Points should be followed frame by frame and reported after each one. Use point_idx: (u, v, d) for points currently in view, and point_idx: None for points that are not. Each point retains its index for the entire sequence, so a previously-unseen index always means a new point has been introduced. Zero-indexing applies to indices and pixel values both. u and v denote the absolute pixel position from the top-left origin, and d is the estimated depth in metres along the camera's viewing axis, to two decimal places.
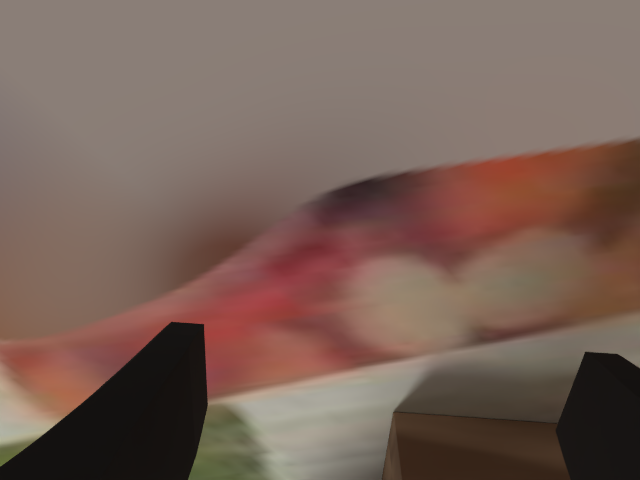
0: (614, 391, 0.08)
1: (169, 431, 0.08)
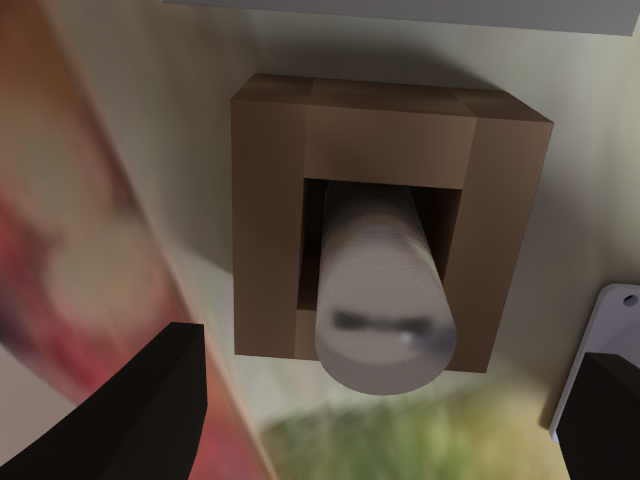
0: (614, 391, 0.08)
1: (169, 431, 0.08)
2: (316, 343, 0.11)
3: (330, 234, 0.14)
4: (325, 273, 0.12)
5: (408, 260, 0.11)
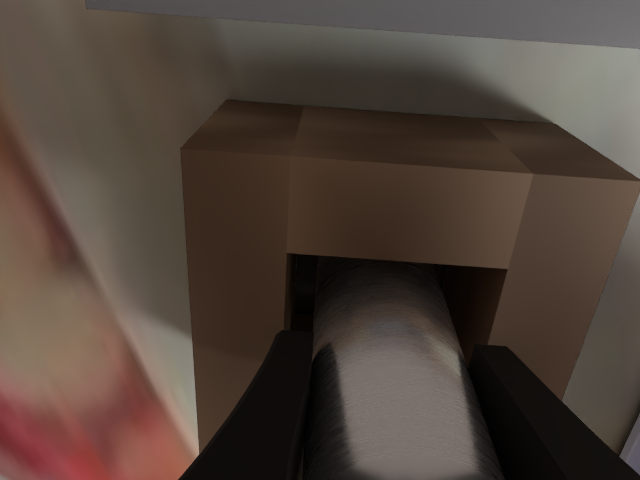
0: (491, 382, 0.08)
1: (301, 441, 0.08)
2: None
3: (324, 331, 0.10)
4: (315, 406, 0.08)
5: (440, 400, 0.07)
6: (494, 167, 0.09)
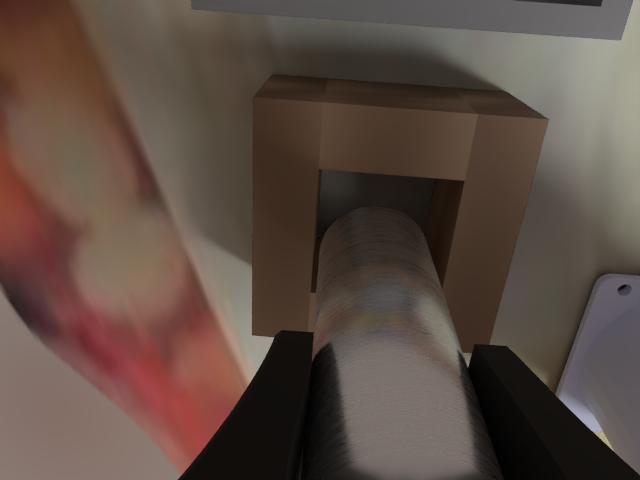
0: (491, 382, 0.08)
1: (301, 440, 0.08)
2: None
3: (324, 330, 0.10)
4: (315, 405, 0.08)
5: (439, 400, 0.07)
6: (453, 110, 0.14)
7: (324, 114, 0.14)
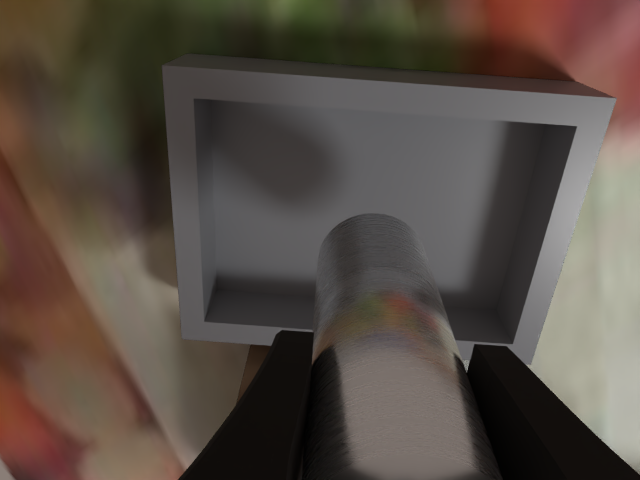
0: (491, 382, 0.08)
1: (300, 441, 0.08)
2: None
3: (323, 334, 0.10)
4: (315, 407, 0.08)
5: (439, 401, 0.07)
6: None
7: None
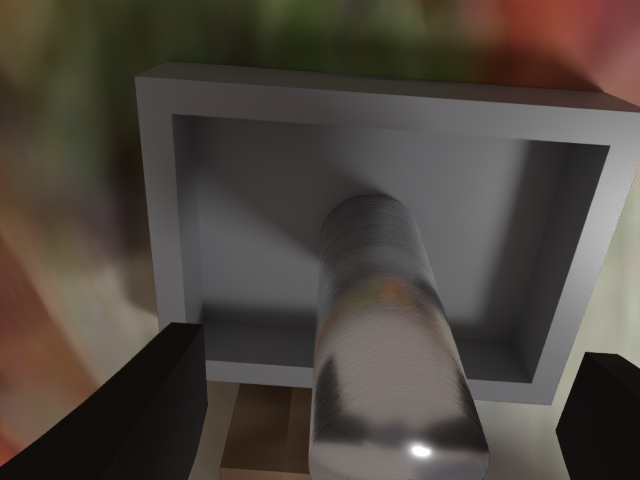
0: (614, 391, 0.08)
1: (169, 431, 0.08)
2: (310, 465, 0.09)
3: (327, 302, 0.11)
4: (322, 363, 0.10)
5: (426, 356, 0.09)
6: None
7: (284, 479, 0.15)
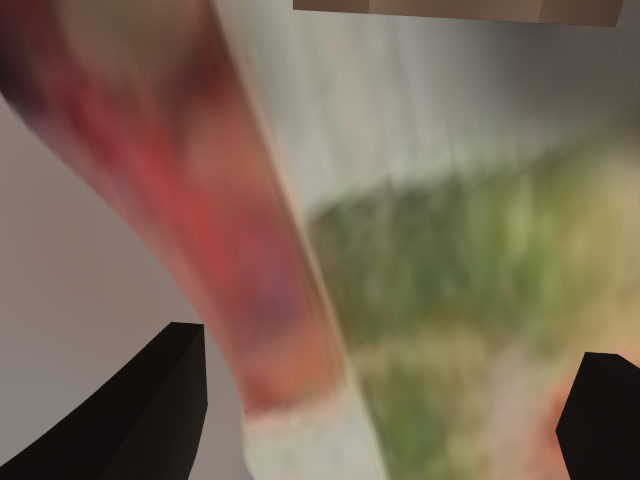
0: (614, 391, 0.08)
1: (169, 431, 0.08)
2: None
3: None
4: None
5: None
6: None
7: None
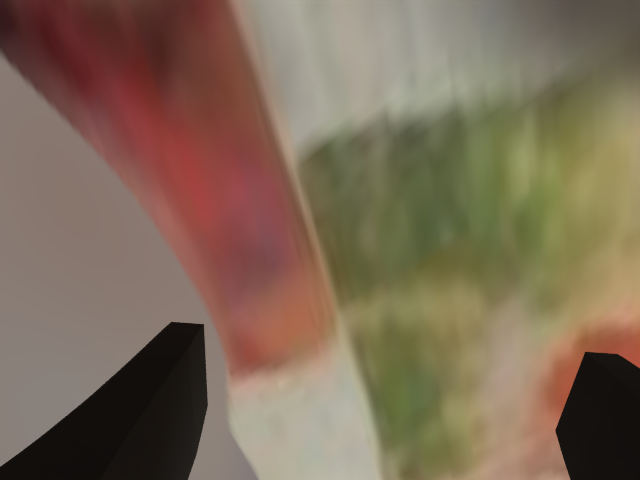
0: (614, 391, 0.08)
1: (169, 431, 0.08)
2: None
3: None
4: None
5: None
6: None
7: None
